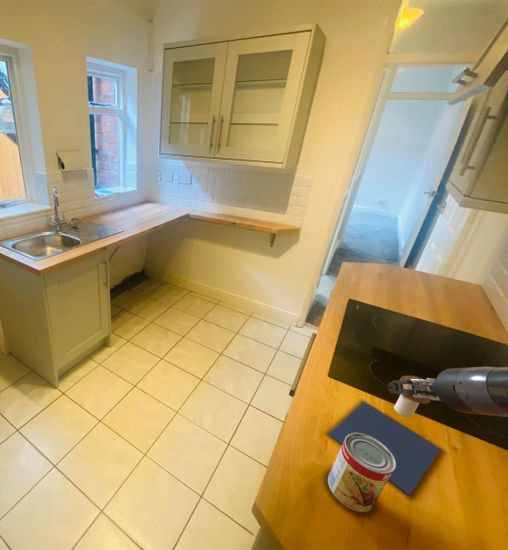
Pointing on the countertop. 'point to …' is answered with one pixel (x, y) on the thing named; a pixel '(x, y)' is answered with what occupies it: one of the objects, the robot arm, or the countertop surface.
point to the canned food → (360, 471)
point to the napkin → (391, 444)
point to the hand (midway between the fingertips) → (405, 389)
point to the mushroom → (409, 401)
